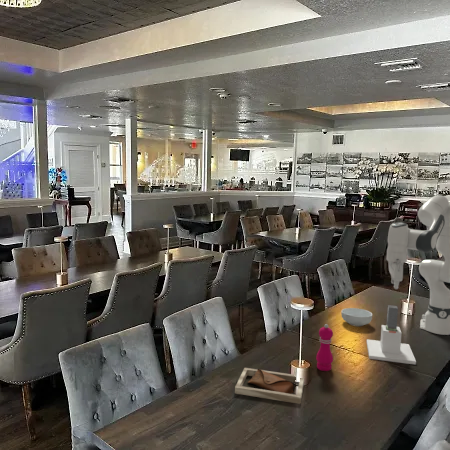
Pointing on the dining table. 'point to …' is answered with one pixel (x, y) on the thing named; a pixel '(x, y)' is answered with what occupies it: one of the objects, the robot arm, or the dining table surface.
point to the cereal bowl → (356, 316)
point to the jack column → (392, 318)
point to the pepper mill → (325, 349)
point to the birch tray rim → (266, 393)
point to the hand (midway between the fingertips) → (394, 286)
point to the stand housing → (390, 347)
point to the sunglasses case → (272, 382)
